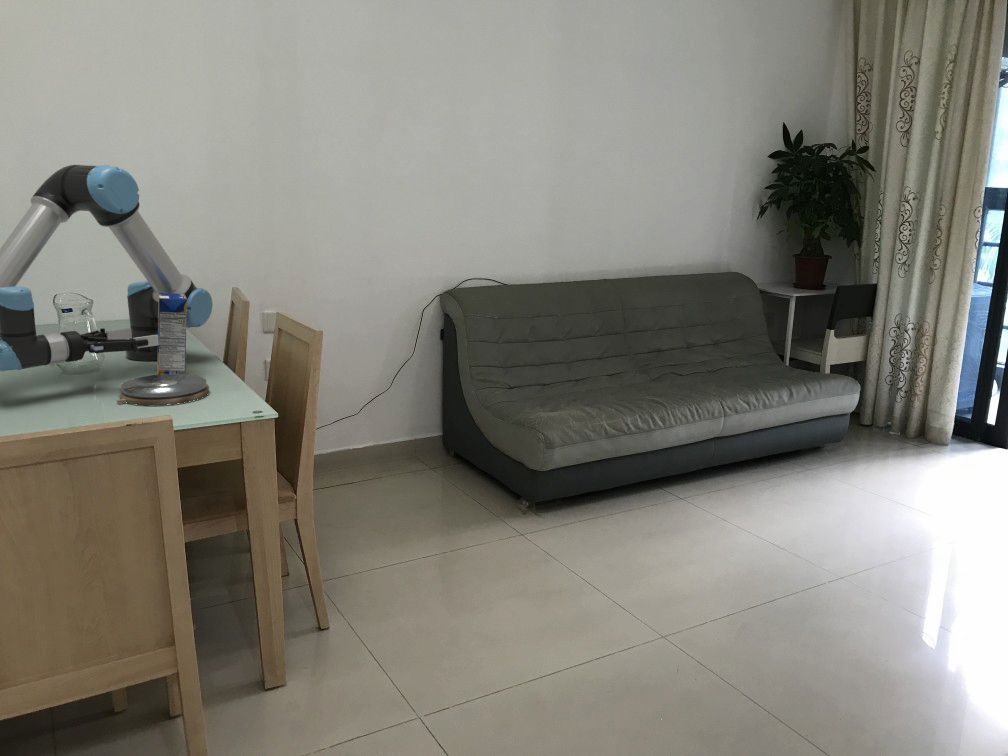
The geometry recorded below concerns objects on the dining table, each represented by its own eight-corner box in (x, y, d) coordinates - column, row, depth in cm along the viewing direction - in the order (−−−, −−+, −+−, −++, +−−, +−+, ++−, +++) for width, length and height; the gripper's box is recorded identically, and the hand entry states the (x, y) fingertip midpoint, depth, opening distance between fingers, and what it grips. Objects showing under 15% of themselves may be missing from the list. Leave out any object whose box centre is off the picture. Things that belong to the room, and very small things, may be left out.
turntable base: (180, 380, 220) (179, 375, 220) (225, 394, 208) (225, 388, 207) (96, 396, 202) (95, 390, 202) (140, 412, 190) (140, 406, 190)
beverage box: (157, 378, 219) (159, 298, 215) (157, 369, 229) (158, 292, 225) (184, 379, 222) (186, 299, 218) (183, 370, 232) (185, 293, 227)
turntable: (179, 375, 219) (178, 370, 219) (222, 388, 207) (222, 382, 207) (105, 389, 204) (105, 383, 203) (148, 403, 192) (148, 397, 191)
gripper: (41, 354, 209) (121, 343, 226) (88, 370, 195) (170, 357, 211) (38, 326, 207) (119, 317, 224) (85, 339, 193) (168, 328, 209)
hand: (144, 336), depth 217 cm, fingers open, 13 cm apart
